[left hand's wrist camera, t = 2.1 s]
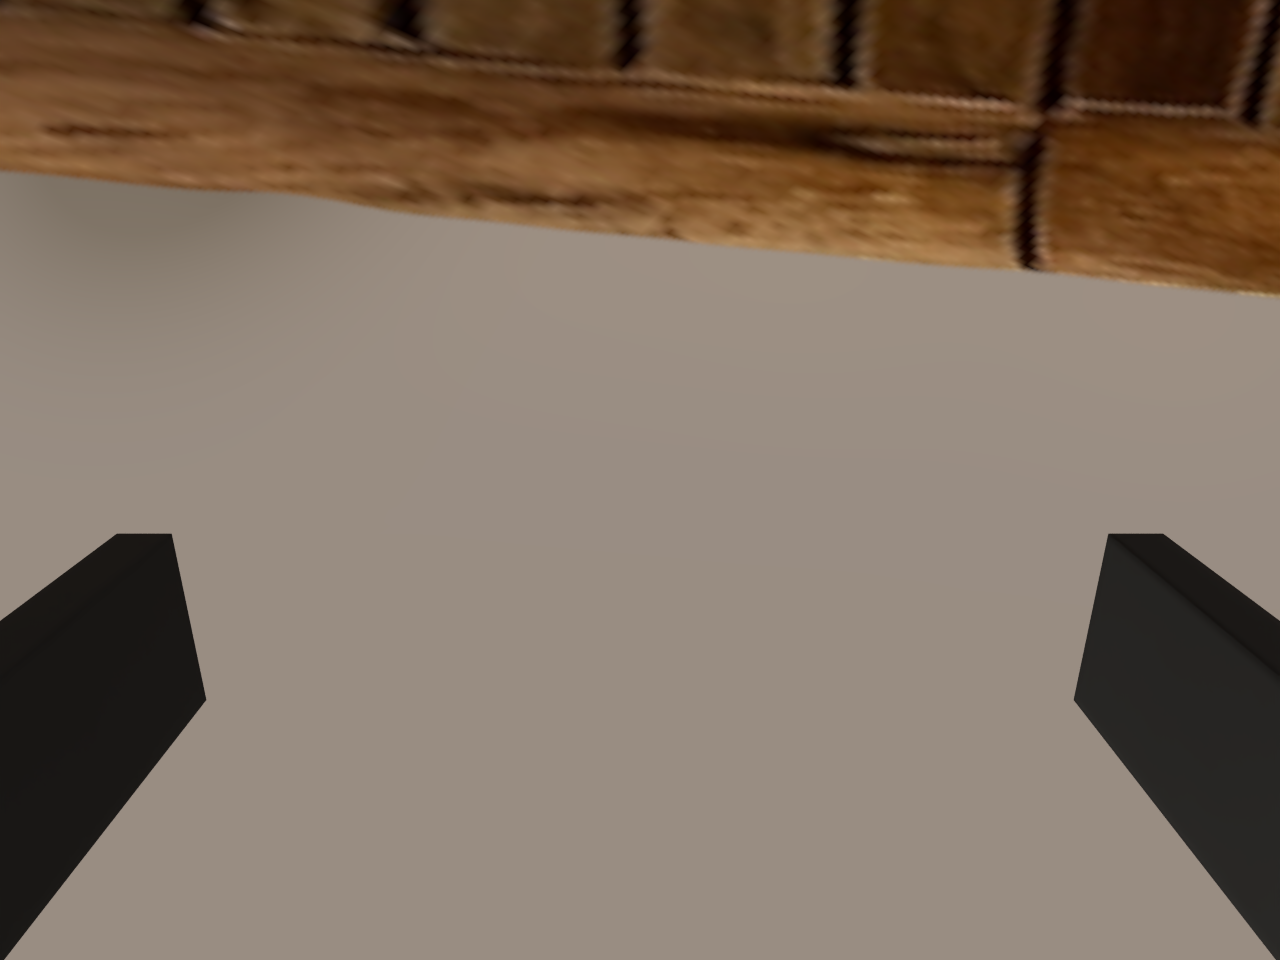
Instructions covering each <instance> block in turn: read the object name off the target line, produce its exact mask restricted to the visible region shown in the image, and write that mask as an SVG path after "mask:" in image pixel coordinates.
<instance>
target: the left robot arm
mask: <svg viewBox="0 0 1280 960" xmlns="http://www.w3.org/2000/svg"><path fill="white" fill-rule="evenodd" d="M205 701H206V696H205V691H204V687H203V682H202V677H201V672H200V668H199V663H198V658H197V653H196V648H195V643H194V639H193V634H192V629H191V624H190V620H189V615H188V610H187V605H186V601H185V596H184V591H183V586H182V581H181V576H180V572H179V567H178V562H177V557H176V552H175V548H174V543H173V538H172V534H116V535H115V536H113V537H112V538H111V539H109V540H108V541H107V542H105V543H104V544H103V545H101V546H100V547H99V548H97V549H96V550H95V551H93V552H92V553H90V554H89V555H88V556H86V557H85V558H84V559H82V560H81V561H80V562H78V563H77V564H76V565H74V566H73V567H72V568H70V569H69V570H68V571H66V572H65V573H64V574H62V575H61V576H60V577H58V578H57V579H56V580H54V581H53V582H52V583H50V584H49V585H48V586H46V587H45V588H44V589H42V590H41V591H40V592H38V593H37V594H36V595H34V596H33V597H32V598H30V599H29V600H28V601H26V602H25V603H24V604H22V605H21V606H20V607H18V608H17V609H16V610H14V611H13V612H12V613H10V614H9V615H8V616H6V617H5V618H4V619H2V620H1V621H0V960H4V959H5V958H6V957H7V955H8V954H9V953H10V951H11V950H12V949H13V948H14V946H15V945H16V944H17V942H18V941H19V940H20V939H21V937H22V936H23V935H24V933H25V932H26V931H27V930H28V928H29V927H30V926H31V924H32V923H33V922H34V921H35V919H36V918H37V917H38V915H39V914H40V913H41V912H42V910H43V909H44V908H45V906H46V905H47V904H48V903H49V901H50V900H51V899H52V897H53V896H54V895H55V894H56V892H57V891H58V890H59V888H60V887H61V886H62V885H63V883H64V882H65V881H66V879H67V878H68V877H69V876H70V874H71V873H72V872H73V870H74V869H75V868H76V867H77V865H78V864H79V863H80V861H81V860H82V859H83V858H84V856H85V855H86V854H87V852H88V851H89V850H90V849H91V847H92V846H93V845H94V844H95V842H96V841H97V840H98V838H99V837H100V836H101V835H102V833H103V832H104V831H105V829H106V828H107V827H108V825H109V824H110V823H111V822H112V820H113V819H114V818H115V817H116V815H117V814H118V813H119V811H120V810H121V809H122V808H123V806H124V805H125V804H126V802H127V801H128V800H129V798H130V797H131V796H132V795H133V793H134V792H135V791H136V789H137V788H138V787H139V786H140V784H141V783H142V782H143V781H144V779H145V778H146V777H147V775H148V774H149V773H150V772H151V770H152V769H153V768H154V766H155V765H156V764H157V763H158V761H159V760H160V759H161V757H162V756H163V755H164V754H165V752H166V751H167V750H168V748H169V747H170V746H171V745H172V743H173V742H174V741H175V739H176V738H177V737H178V736H179V734H180V733H181V732H182V730H183V729H184V728H185V727H186V725H187V724H188V723H189V721H190V720H191V719H192V718H193V716H194V715H195V714H196V712H197V711H198V710H199V709H200V707H201V706H202V705H203V703H204V702H205ZM1074 701H1075V702H1076V703H1077V705H1078V706H1079V707H1080V709H1081V710H1082V711H1083V712H1084V714H1085V715H1086V716H1087V718H1088V719H1089V720H1090V721H1091V723H1092V724H1093V725H1094V727H1095V728H1096V729H1097V730H1098V732H1099V733H1100V734H1101V736H1102V737H1103V738H1104V739H1105V741H1106V742H1107V743H1108V744H1109V746H1110V747H1111V748H1112V750H1113V751H1114V752H1115V754H1116V755H1117V756H1118V757H1119V759H1120V760H1121V761H1122V763H1123V764H1124V765H1125V766H1126V768H1127V769H1128V770H1129V772H1130V773H1131V774H1132V775H1133V777H1134V778H1135V779H1136V781H1137V782H1138V783H1139V784H1140V786H1141V787H1142V788H1143V790H1144V791H1145V792H1146V793H1147V795H1148V796H1149V797H1150V798H1151V800H1152V801H1153V802H1154V804H1155V805H1156V806H1157V808H1158V809H1159V810H1160V811H1161V813H1162V814H1163V815H1164V816H1165V818H1166V819H1167V820H1168V822H1169V823H1170V824H1171V826H1172V827H1173V828H1174V829H1175V831H1176V832H1177V833H1178V834H1179V836H1180V837H1181V838H1182V840H1183V841H1184V842H1185V843H1186V845H1187V846H1188V847H1189V849H1190V850H1191V851H1192V852H1193V854H1194V855H1195V856H1196V858H1197V859H1198V860H1199V861H1200V863H1201V864H1202V865H1203V867H1204V868H1205V869H1206V870H1207V872H1208V873H1209V874H1210V876H1211V877H1212V878H1213V879H1214V881H1215V882H1216V883H1217V885H1218V886H1219V887H1220V888H1221V890H1222V891H1223V892H1224V894H1225V895H1226V896H1227V897H1228V899H1229V900H1230V901H1231V903H1232V904H1233V905H1234V906H1235V908H1236V909H1237V910H1238V912H1239V913H1240V914H1241V915H1242V917H1243V918H1244V919H1245V920H1246V922H1247V923H1248V924H1249V926H1250V927H1251V928H1252V930H1253V931H1254V932H1255V933H1256V935H1257V936H1258V937H1259V939H1260V940H1261V941H1262V942H1263V944H1264V945H1265V946H1266V948H1267V949H1268V950H1269V951H1270V953H1271V954H1272V955H1273V956H1274V958H1275V959H1276V960H1280V621H1279V620H1278V619H1276V618H1275V617H1274V616H1272V615H1271V614H1270V613H1268V612H1267V611H1266V610H1264V609H1263V608H1262V607H1260V606H1259V605H1258V604H1256V603H1255V602H1254V601H1252V600H1251V599H1250V598H1248V597H1247V596H1246V595H1244V594H1243V593H1242V592H1240V591H1239V590H1238V589H1236V588H1235V587H1234V586H1232V585H1231V584H1230V583H1228V582H1227V581H1226V580H1224V579H1223V578H1222V577H1220V576H1219V575H1218V574H1216V573H1215V572H1214V571H1212V570H1211V569H1210V568H1208V567H1207V566H1206V565H1204V564H1203V563H1202V562H1200V561H1199V560H1198V559H1196V558H1195V557H1194V556H1192V555H1191V554H1190V553H1188V552H1187V551H1186V550H1184V549H1183V548H1181V547H1180V546H1179V545H1177V544H1176V543H1175V542H1173V541H1172V540H1171V539H1169V538H1168V537H1167V536H1165V535H1164V534H1108V538H1107V543H1106V548H1105V552H1104V557H1103V562H1102V567H1101V572H1100V576H1099V581H1098V586H1097V591H1096V596H1095V600H1094V605H1093V610H1092V615H1091V620H1090V624H1089V629H1088V634H1087V639H1086V643H1085V648H1084V653H1083V658H1082V663H1081V667H1080V672H1079V677H1078V682H1077V687H1076V691H1075V696H1074Z"/></svg>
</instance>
